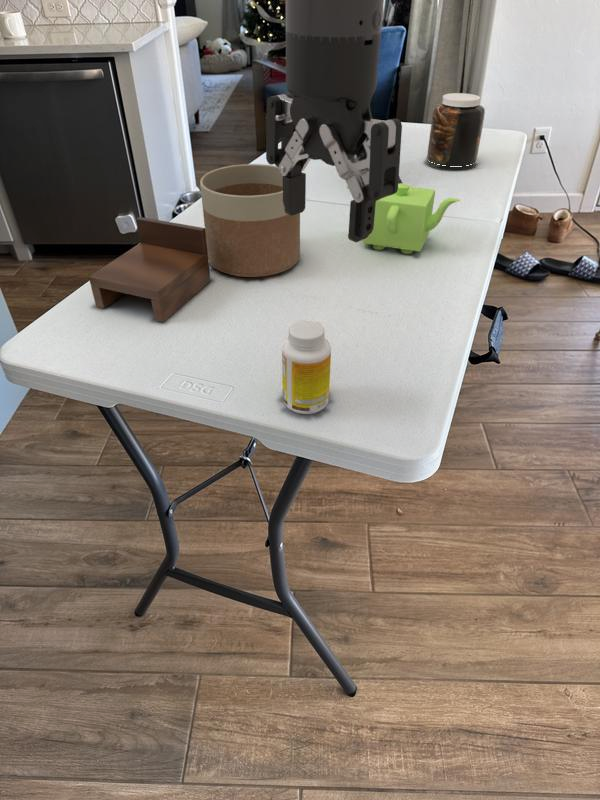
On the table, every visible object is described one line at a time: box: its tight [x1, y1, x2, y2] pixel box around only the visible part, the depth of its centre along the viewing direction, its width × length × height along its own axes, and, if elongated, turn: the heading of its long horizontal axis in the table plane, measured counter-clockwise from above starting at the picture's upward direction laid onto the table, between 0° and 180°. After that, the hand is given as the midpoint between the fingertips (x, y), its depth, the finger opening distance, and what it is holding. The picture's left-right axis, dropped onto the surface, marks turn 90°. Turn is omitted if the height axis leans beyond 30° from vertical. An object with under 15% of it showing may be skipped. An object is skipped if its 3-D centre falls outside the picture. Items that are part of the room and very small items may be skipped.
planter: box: [199, 163, 301, 278], centre depth 96 cm, size 16×16×14 cm
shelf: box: [88, 216, 212, 323], centre depth 88 cm, size 14×12×9 cm
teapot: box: [345, 182, 461, 255], centre depth 102 cm, size 15×13×11 cm
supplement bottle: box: [281, 319, 332, 415], centre depth 66 cm, size 6×6×10 cm
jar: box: [426, 92, 486, 171], centre depth 138 cm, size 12×12×15 cm
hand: (325, 225), depth 55 cm, fingers open, 8 cm apart
